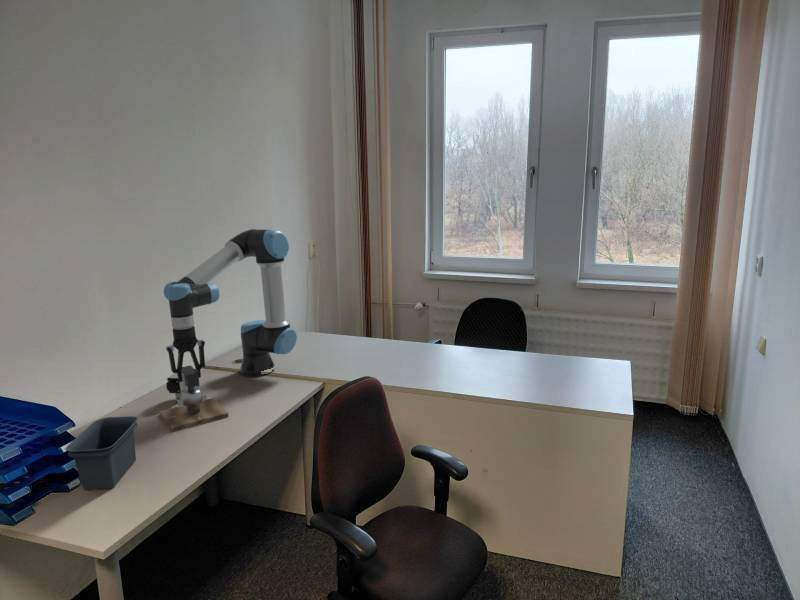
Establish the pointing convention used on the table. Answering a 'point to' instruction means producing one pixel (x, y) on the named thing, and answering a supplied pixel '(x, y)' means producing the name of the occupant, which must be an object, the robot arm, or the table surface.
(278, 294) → the robot arm
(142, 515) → the table surface
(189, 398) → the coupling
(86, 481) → the storage bin
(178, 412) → the base
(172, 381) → the pneumatic valve
